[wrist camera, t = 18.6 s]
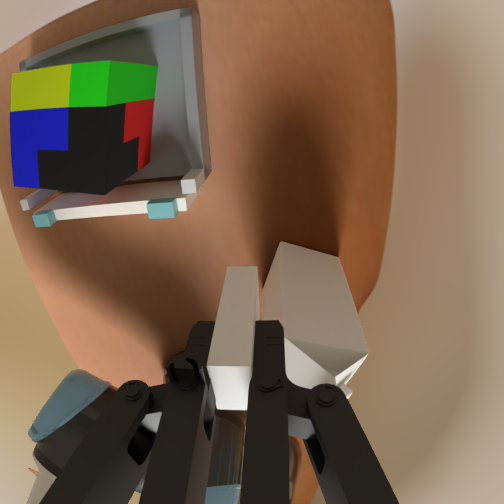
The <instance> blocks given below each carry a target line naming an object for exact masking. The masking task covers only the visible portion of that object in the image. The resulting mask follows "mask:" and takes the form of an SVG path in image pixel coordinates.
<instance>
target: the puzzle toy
mask: <svg viewBox="0 0 504 504" xmlns="http://www.w3.org/2000/svg"><path fill="white" fill-rule="evenodd" d="M157 74H158V66H154V65H147V64H139V63H131V62H121V61H96V62H84V63H75V64H66V65H59V66H52V67H45V68H39V69H33V70H28V71H23V72H18V73H13V74H12V78H11V99H10V136H11V157H12V170H13V180H14V186H18V187H29V188H39V189H50V190H59V191H69V192H78V193H87V194H96V195H106V194H107V193H109V192H110V191H111V190H113V189H114V188H115V187H117V186H118V185H119V184H121V183H122V182H124V181H125V180H126V179H128V178H129V177H130V176H132V175H133V174H135V173H136V172H137V171H139V170H140V169H142V168H143V167H145V166H146V165H147V164H149V163H150V154H151V137H152V124H153V112H154V101H155V92H156V82H157Z"/></svg>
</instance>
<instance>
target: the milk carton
mask: <svg viewBox="0 0 504 504" xmlns="http://www.w3.org/2000/svg"><path fill="white" fill-rule="evenodd" d="M261 320H279V322H280V323H281V325H282V326H283V327H284V344H285V367H286V375H287V377H288V379H289V380H290V381H291V382H292V383H294V384H295V385H297V386H300V387H304V388H308V389H312V388H313V387H314V386H317V385H319V384H326V383H328V384H333V385H336V386H337V387H339V388H341V390H342V391H343V392H344V393H345V395H346V397H347V399H348V398H349V397H350V396H351V395H352V390H351V389H349V388H348V387H347V385H346V384H347V382H348V381H349V380H350V378H351V377H352V376H353V374H354V373H355V372H356V370H357V369H358V368H359V366H360V365H361V364H362V362H363V361H364V359H365V358H366V356H367V355H368V354H369V352H368V348H367V344H366V341H365V337H364V334H363V331H362V327H361V324H360V320H359V317H358V314H357V311H356V307H355V304H354V301H353V298H352V295H351V292H350V289H349V286H348V283H347V279H346V276H345V273H344V271H343V268H342V265H341V262H340V259H339V257H336V256H333V255H329V254H325V253H322V252H318V251H315V250H311V249H308V248H304V247H300V246H297V245H293V244H290V243H286V242H282V241H281V242H280V243H279V246H278V248H277V251H276V254H275V257H274V260H273V262H272V265H271V268H270V271H269V274H268V276H267V279H266V282H265V285H264V288H263V293H262V312H261Z"/></svg>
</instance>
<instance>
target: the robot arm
mask: <svg viewBox="0 0 504 504" xmlns="http://www.w3.org/2000/svg"><path fill="white" fill-rule="evenodd" d="M259 310H260V309H259V290H258V271H257V266H240V267H227V270H226V275H225V280H224V284H223V289H222V294H221V298H220V303H219V308H218V313H217V317H216V321H198V322H197V323H196V324H195V325H194V326H193V327H192V329H191V331H190V335H189V339H188V342H187V346H186V349H185V351H183V352H181V353H178V354H177V355H175V356H174V357H172V358H171V359H170V361H169V362H168V363H167V365H166V367H165V368H166V370H165V373H164V379H163V383H164V384H162V385H157V386H151V387H148V385H147V384H146V383H144V382H143V381H140V380H132V381H128V382H126V383H124V384H123V385H122V386H121V387H120V388H119V389H117V388H116V387H114V386H112V385H111V383H110V382H108V381H103V380H101V379H99V378H98V377H96V376H94V375H92V374H90V373H89V372H87V371H85V370H81V369H77V370H73V371H71V372H70V373H69V374H68V375H67V376H66V377H65V378H64V379H63V380H62V382H61V383H60V384H59V386H58V387H57V388H56V390H55V391H54V392H53V394H52V395H51V396H50V398H49V399H48V401H47V402H46V404H45V405H44V406H43V408H42V409H41V411H40V413H39V414H38V416H37V417H36V419H35V421H34V423H33V424H32V426H31V428H30V429H29V432H28V435H29V436H30V437H31V438H32V440H33V441H34V442H37V444H36V447H35V449H34V451H33V458H34V460H35V462H36V464H37V466H38V469H39V472H38V475H37V477H36V480H35V483H34V485H33V488H32V490H31V493H30V496H29V499H28V501H27V504H128V502H129V500H130V498H131V497H132V495H133V493H134V491H136V492H139V493H141V496H140V501H139V504H237V502H238V497H239V491H240V488H241V498H240V504H289V442H288V435H290V436H294V437H298V438H302V439H303V441H304V444H305V446H306V449H307V452H308V455H309V458H310V460H311V463H312V466H313V469H314V471H315V474H316V477H317V479H318V482H319V485H320V487H321V490H322V493H323V496H324V498H325V501H326V504H399V502H398V500H397V498H396V496H395V494H394V492H393V490H392V488H391V486H390V484H389V482H388V480H387V478H386V476H385V474H384V472H383V470H382V468H381V466H380V463H379V461H378V459H377V457H376V455H375V453H374V451H373V449H372V447H371V445H370V443H369V441H368V439H367V437H366V435H365V433H364V431H363V429H362V427H361V425H360V423H359V421H358V419H357V417H356V415H355V413H354V411H353V409H352V407H351V405H350V404H349V401H348V399H347V397H346V395H345V393H344V392H343V391H342V390H341V388H339V387H337V386H336V385H333V384H328V383H326V384H319V385H317V386H314V387H313V388H312V389H308V388H304V387H300V386H297V385H295V384H294V383H292V382H291V381H290V380H289V379H288V377H287V375H286V367H285V344H284V327H283V326H282V325H281V323H280V322H279V320H259ZM245 425H246V431H245ZM244 433H245V444H244ZM243 446H244V457H243ZM242 458H243V472H242V484H240V482H241V469H242Z"/></svg>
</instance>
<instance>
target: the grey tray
mask: <svg viewBox="0 0 504 504" xmlns="http://www.w3.org/2000/svg"><path fill="white" fill-rule="evenodd" d="M96 61H121V62H131V63H139V64H147V65H154V66H158V74H157V82H156V92H155V101H154V112H153V124H152V137H151V154H150V163H149V164H147V165H146V166H145V167H143V168H142V169H140V170H139V171H137V172H136V173H135V174H133V175H132V176H130V177H129V178H128V179H126V180H125V181H132V180H141V179H151V178H161V177H172V176H184V177H183V178H182V179H181V186H182V194H189V193H197V192H198V190H199V189H200V187H201V186H202V184H203V183H204V181H205V180H206V179H207V177H208V176H209V174H210V173H211V171H212V170H211V160H210V149H209V138H208V127H207V115H206V103H205V91H204V78H203V64H202V49H201V34H200V16H199V14H198V13H197V12H196V11H195V10H194V9H193V8H192V7H186V8H180V9H175V10H170V11H165V12H160V13H156V14H151V15H147V16H143V17H139V18H135V19H131V20H128V21H124V22H120V23H117V24H114V25H110V26H107V27H104V28H101V29H98V30H95V31H92V32H89V33H86V34H84V35H81V36H78V37H76V38H73V39H70V40H68V41H65V42H63V43H60V44H58V45H56V46H53V47H51V48H49V49H46V50H44V51H42V52H40V53H38V54H36V55H33V56H31V57H29V58H27V59H25V60H23V61H21V62H19V65H20V72H23V71H28V70H33V69H39V68H45V67H52V66H59V65H66V64H75V63H84V62H96ZM57 191H59V190H50V189H39V188H38V190H36V191H34V192H33V193H31V194H29V195H28V196H26V197H25V198H23V199H21V200H20V203H21V207H22V210H23V211H25V210H30V209H32V208H33V207H34V206H36V205H37V204H39V203H40V202H42V201H43V200H45V199H46V198H48V197H49V196H51V195H53V194H54V193H56V192H57Z"/></svg>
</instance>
